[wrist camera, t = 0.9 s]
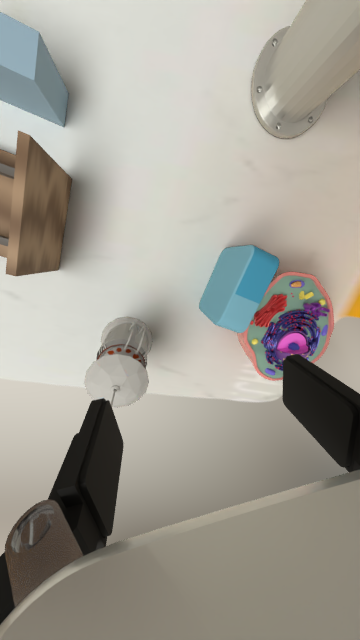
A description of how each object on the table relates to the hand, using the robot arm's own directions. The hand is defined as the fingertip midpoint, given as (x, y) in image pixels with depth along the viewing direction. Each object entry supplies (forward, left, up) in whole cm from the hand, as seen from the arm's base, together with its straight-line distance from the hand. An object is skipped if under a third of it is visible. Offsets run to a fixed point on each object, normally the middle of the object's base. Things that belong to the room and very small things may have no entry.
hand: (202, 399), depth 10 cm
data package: (-6, +10, -29) cm, 31 cm away
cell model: (-2, +22, -29) cm, 36 cm away
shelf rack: (-7, -26, -29) cm, 40 cm away
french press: (+9, -4, -29) cm, 31 cm away
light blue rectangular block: (-22, -25, -29) cm, 44 cm away
